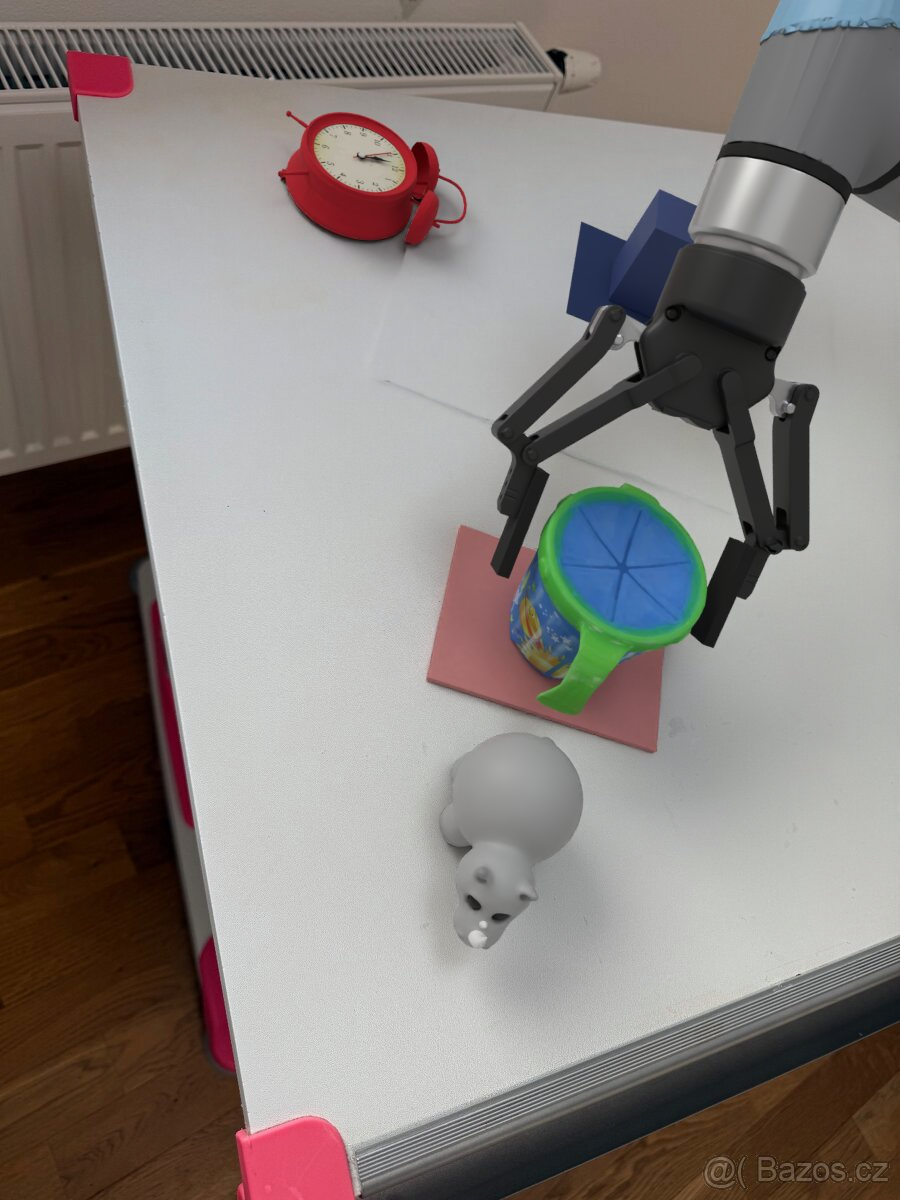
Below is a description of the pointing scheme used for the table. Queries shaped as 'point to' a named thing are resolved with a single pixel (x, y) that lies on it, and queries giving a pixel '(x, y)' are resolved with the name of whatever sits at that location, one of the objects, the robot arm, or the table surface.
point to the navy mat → (594, 274)
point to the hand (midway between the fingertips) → (601, 607)
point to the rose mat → (502, 674)
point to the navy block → (651, 253)
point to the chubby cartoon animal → (507, 827)
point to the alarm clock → (364, 179)
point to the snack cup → (604, 590)
